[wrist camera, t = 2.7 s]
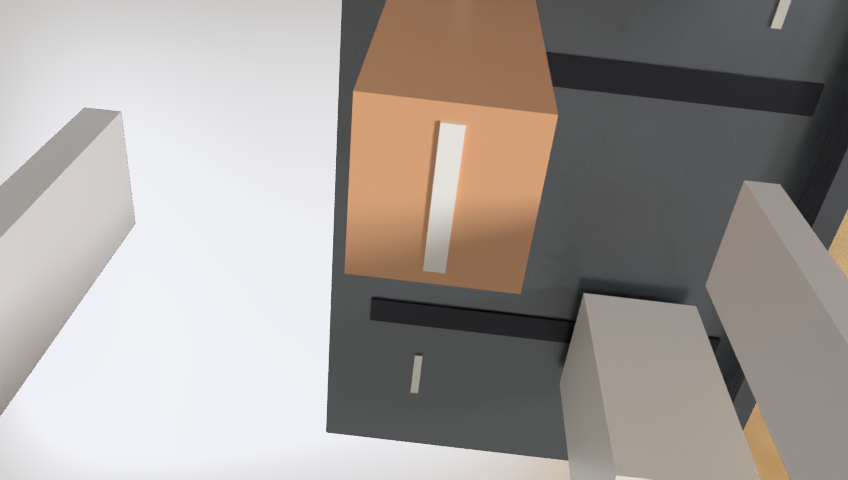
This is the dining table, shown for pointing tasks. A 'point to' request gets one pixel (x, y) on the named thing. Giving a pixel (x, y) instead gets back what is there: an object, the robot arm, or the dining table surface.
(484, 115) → the fader terracotta
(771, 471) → the dining table surface
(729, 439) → the fader ivory
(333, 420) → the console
